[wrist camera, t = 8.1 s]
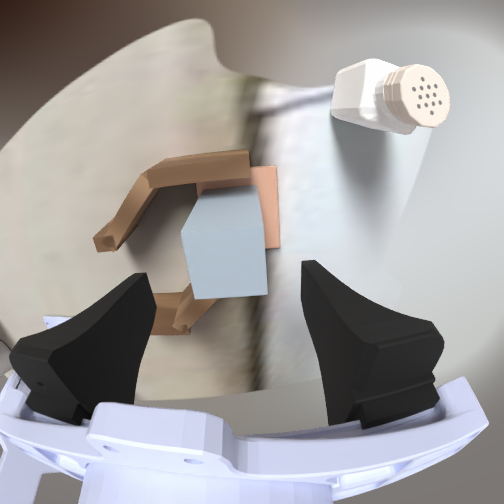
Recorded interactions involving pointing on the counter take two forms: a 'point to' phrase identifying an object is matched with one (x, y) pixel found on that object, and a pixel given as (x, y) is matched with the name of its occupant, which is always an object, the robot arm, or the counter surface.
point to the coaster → (267, 196)
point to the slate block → (226, 244)
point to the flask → (4, 359)
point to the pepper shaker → (390, 96)
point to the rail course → (140, 196)
